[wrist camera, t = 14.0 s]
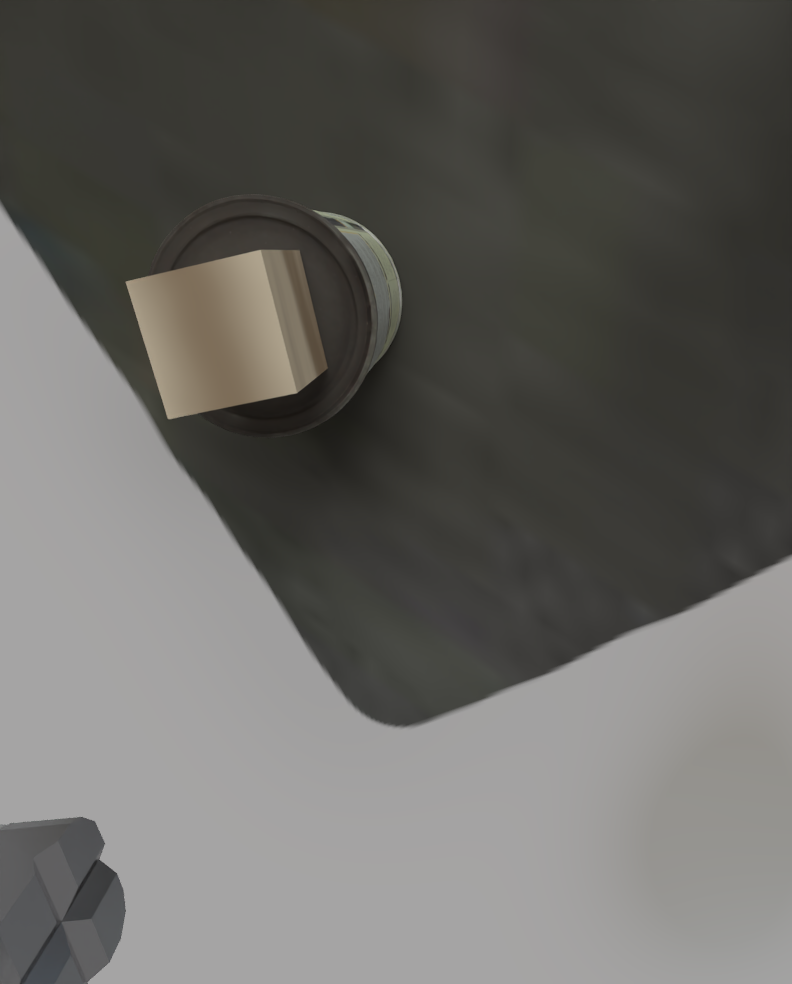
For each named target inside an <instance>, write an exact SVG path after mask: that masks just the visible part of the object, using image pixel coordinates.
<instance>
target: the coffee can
mask: <svg viewBox="0 0 792 984" xmlns="http://www.w3.org/2000/svg"><path fill="white" fill-rule="evenodd" d="M257 250H300V255H301V259H302V263H303V267H304V271H305V275H306V279H307V284H308V288H309V292H310V296H311V300H312V304H313V308H314V313H315V317H316V321H317V325H318V329H319V333H320V337H321V342H322V346H323V350H324V354H325V358H326V362H327V367H328V369H326V370H325V371H324V372H323V373H321V374H320V375H319V376H318V377H316V378H315V379H314V380H313V381H311V382H310V383H309V384H308V385H307V386H305V387H304V388H303V389H302V390H300V391H299V392H298V393H295V394H290V395H285V396H280V397H275V398H271V399H266V400H261V401H256V402H251V403H246V404H241V405H236V406H231V407H226V408H221V409H216V410H211V411H206V412H202V413H197V414H198V415H200V416H201V417H203V418H204V419H206V420H208V421H210V422H211V423H213V424H215V425H217V426H219V427H221V428H223V429H225V430H228V431H231V432H234V433H238V434H242V435H246V436H253V437H266V438H275V437H284V436H290V435H294V434H298V433H301V432H304V431H307V430H309V429H312V428H314V427H316V426H318V425H320V424H322V423H323V422H325V421H326V420H328V419H330V418H331V417H332V416H334V415H335V414H336V413H338V412H339V411H340V410H341V409H342V408H343V407H344V406H345V405H346V404H347V403H348V402H349V401H350V400H351V398H352V397H353V396H354V395H355V393H356V392H357V390H358V389H359V387H360V386H361V384H362V382H363V381H364V379H365V377H366V375H367V373H368V372H369V371H370V370H371V368H372V367H373V366H374V364H375V363H376V362H377V361H378V360H379V359H380V358H381V357H382V356H383V355H384V354H385V352H386V351H387V349H388V348H389V346H390V345H391V343H392V341H393V339H394V337H395V335H396V332H397V330H398V327H399V323H400V318H401V311H402V290H401V285H400V280H399V276H398V273H397V270H396V268H395V265H394V262H393V260H392V258H391V256H390V255H389V253H388V252H387V250H386V249H385V247H384V246H383V244H382V243H381V242H380V241H379V240H378V239H377V238H376V237H375V235H373V234H372V233H371V232H370V231H369V230H367V229H366V228H365V227H364V226H362V225H360V224H359V223H357V222H355V221H353V220H352V219H349V218H347V217H344V216H342V215H337V214H333V213H327V212H319V211H315V210H311V209H309V208H307V207H305V206H303V205H300V204H298V203H295V202H293V201H290V200H287V199H284V198H279V197H275V196H268V195H259V194H249V195H235V196H230V197H226V198H222V199H219V200H215V201H213V202H211V203H208V204H206V205H204V206H202V207H200V208H199V209H197V210H195V211H194V212H193V213H191V214H190V215H188V216H187V217H186V218H185V219H183V220H182V221H181V222H180V223H179V224H178V225H177V226H176V227H175V228H174V229H173V230H172V231H171V232H170V233H169V235H168V236H167V237H166V238H165V240H164V241H163V243H162V244H161V246H160V248H159V249H158V251H157V253H156V255H155V257H154V259H153V262H152V264H151V268H150V271H149V274H148V276H152V275H156V274H160V273H164V272H169V271H173V270H177V269H181V268H185V267H190V266H194V265H198V264H202V263H207V262H211V261H215V260H219V259H223V258H228V257H232V256H236V255H240V254H245V253H249V252H253V251H257Z"/></svg>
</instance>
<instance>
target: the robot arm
mask: <svg viewBox="0 0 792 984" xmlns="http://www.w3.org/2000/svg"><path fill="white" fill-rule="evenodd" d="M104 844H105V843H104V841H103V839H102V836H101V834H100V832H99V830H98V827H97V825H96V823H95V822H94V821H92V820H89V819H86V818H83V817H77V818H67V819H55V820H44V821H32V822H22V823H10V824H8V825H0V984H88V983H87V982H88V981H89V980H90V979H91V978H92V977H93V976H95V975H96V974H97V973H98V972H99V971H100V970H101V969H102V968H103V967H105V966H106V965H107V964H108V963H109V962H110V960H111V958H112V956H113V953H114V952H115V949H116V947H117V945H118V943H119V941H120V939H121V933H122V929H123V923H124V917H125V912H126V910H125V901H124V892H123V888H122V886H121V883H120V880H119V878H118V875H117V873H116V872H114V871H113V870H112V869H111V868H109V867H108V866H107V865H105V864H104V863H103V862H101V861H100V860H99V859H100V856H101V853H102V850H103V847H104Z"/></svg>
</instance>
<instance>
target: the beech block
mask: <svg viewBox="0 0 792 984" xmlns="http://www.w3.org/2000/svg"><path fill="white" fill-rule="evenodd" d="M126 284H127V288H128V291H129V294H130V297H131V300H132V304H133V307H134V310H135V313H136V317H137V320H138V323H139V326H140V330H141V333H142V336H143V339H144V343H145V346H146V349H147V352H148V355H149V359H150V362H151V365H152V368H153V372H154V375H155V378H156V381H157V385H158V388H159V391H160V394H161V398H162V401H163V404H164V407H165V410H166V414H167V417H168V419H172V418H177V417H182V416H187V415H192V414H197V413H202V412H206V411H211V410H216V409H221V408H226V407H231V406H236V405H241V404H246V403H251V402H256V401H261V400H266V399H271V398H275V397H280V396H285V395H290V394H295V393H298V392H299V391H300V390H302V389H303V388H304V387H305V386H307V385H308V384H309V383H310V382H311V381H313V380H314V379H315V378H316V377H318V376H319V375H320V374H321V373H323V372H324V371H325V370H326V369H328V367H327V362H326V358H325V354H324V350H323V346H322V342H321V337H320V333H319V329H318V325H317V321H316V317H315V313H314V308H313V304H312V300H311V296H310V292H309V288H308V284H307V279H306V275H305V271H304V267H303V263H302V259H301V255H300V250H257V251H253V252H249V253H245V254H240V255H236V256H232V257H228V258H223V259H219V260H215V261H211V262H207V263H202V264H198V265H194V266H190V267H185V268H181V269H177V270H173V271H169V272H164V273H160V274H156V275H152V276H147V277H143V278H139V279H135V280H130V281H126Z"/></svg>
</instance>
